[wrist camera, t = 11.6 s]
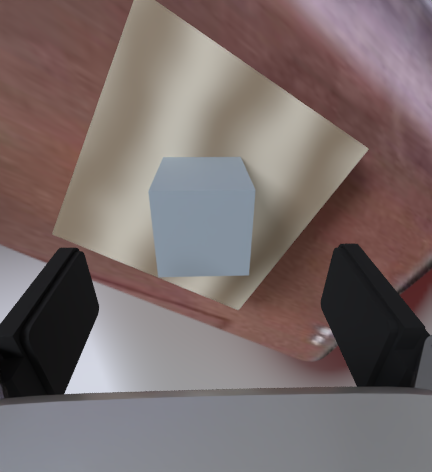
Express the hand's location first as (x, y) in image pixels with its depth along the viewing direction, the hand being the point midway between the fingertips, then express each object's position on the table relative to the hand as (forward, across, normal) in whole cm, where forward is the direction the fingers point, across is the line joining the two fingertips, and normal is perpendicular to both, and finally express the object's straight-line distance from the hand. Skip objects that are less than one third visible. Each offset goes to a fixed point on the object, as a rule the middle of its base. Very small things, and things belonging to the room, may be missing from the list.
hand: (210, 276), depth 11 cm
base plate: (+14, 0, +1) cm, 14 cm away
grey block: (+10, 0, +1) cm, 10 cm away
